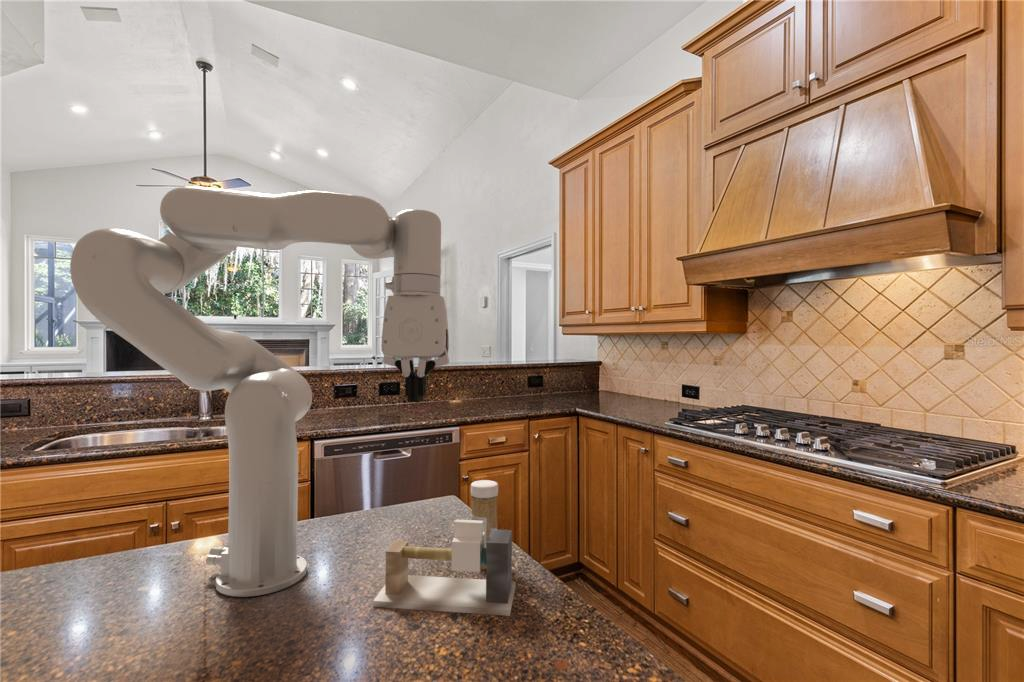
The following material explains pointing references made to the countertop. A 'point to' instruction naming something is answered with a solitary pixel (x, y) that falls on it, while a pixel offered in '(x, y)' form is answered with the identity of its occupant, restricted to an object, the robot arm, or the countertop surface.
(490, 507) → the sprinkles bottle
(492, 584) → the linear actuator
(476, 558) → the sleeve
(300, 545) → the countertop surface
